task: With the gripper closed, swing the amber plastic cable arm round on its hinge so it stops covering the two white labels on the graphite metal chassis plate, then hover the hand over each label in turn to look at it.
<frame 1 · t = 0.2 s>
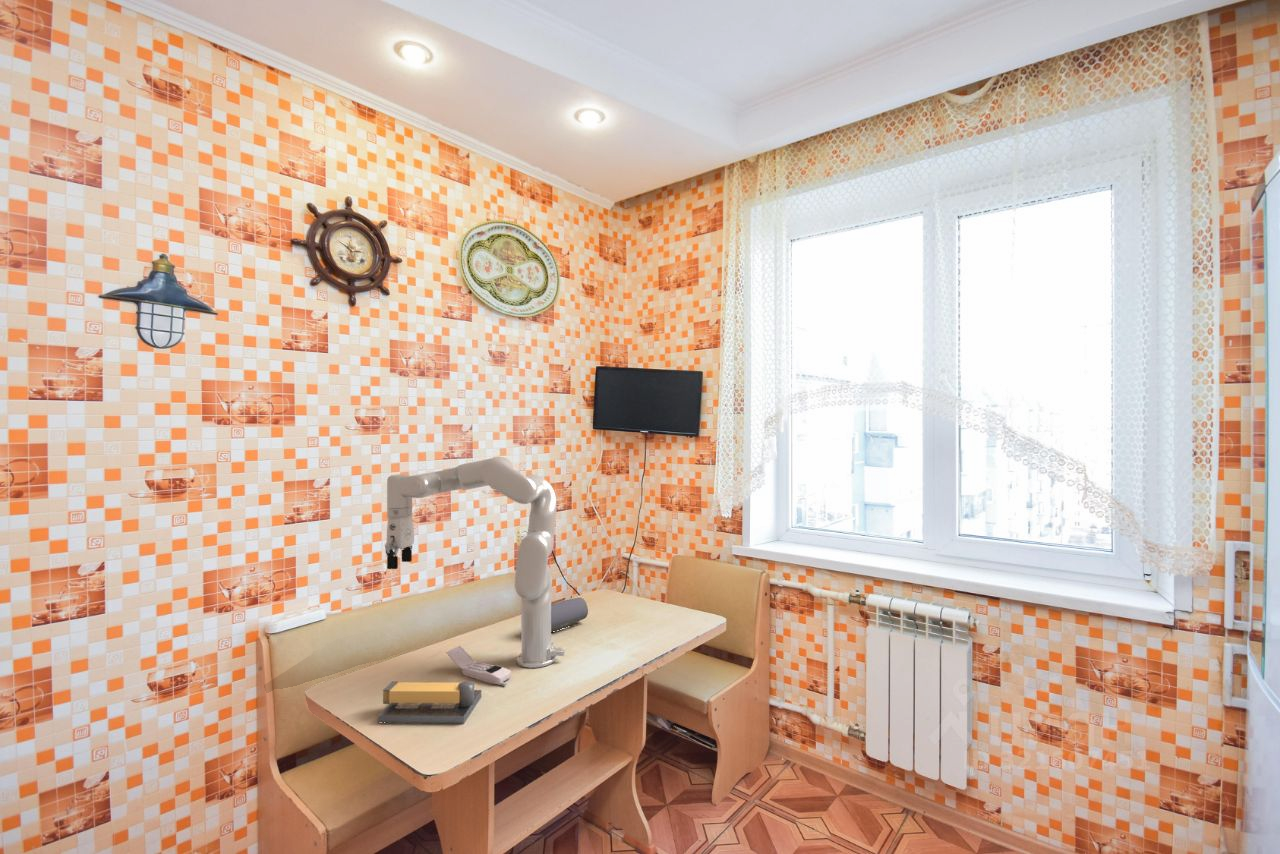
hand: (399, 565, 178), 31 cm above the table, tool pointing down, fingers open, 9 cm apart
mobile phone: (479, 676, 166), on the table
chassis plate: (432, 709, 145), on the table
bluetooth speaker: (558, 630, 204), on the table
cable arm: (430, 693, 144), point 5 cm above the table, hinge at 0.0°
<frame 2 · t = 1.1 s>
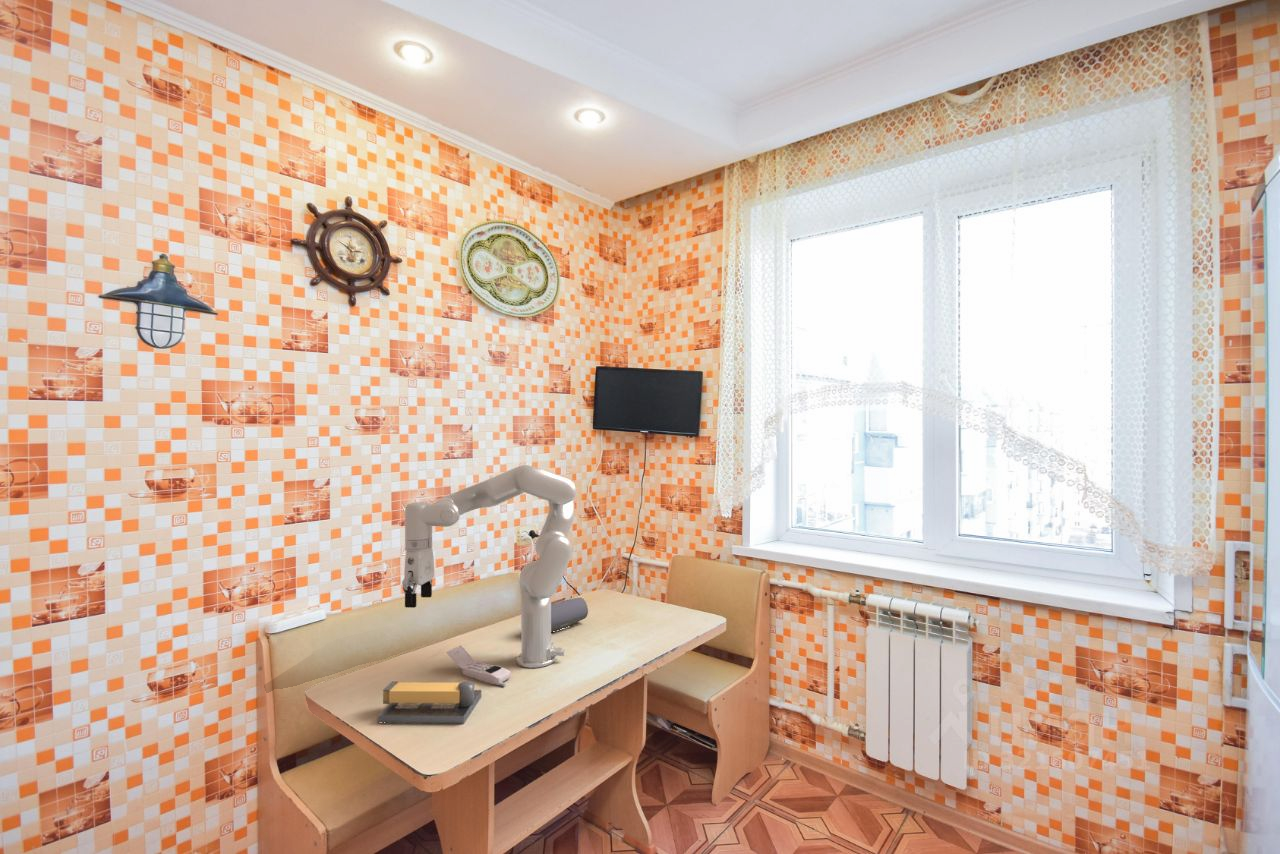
hand: (418, 602, 162), 24 cm above the table, tool pointing down, fingers open, 9 cm apart
nothing on the table moved.
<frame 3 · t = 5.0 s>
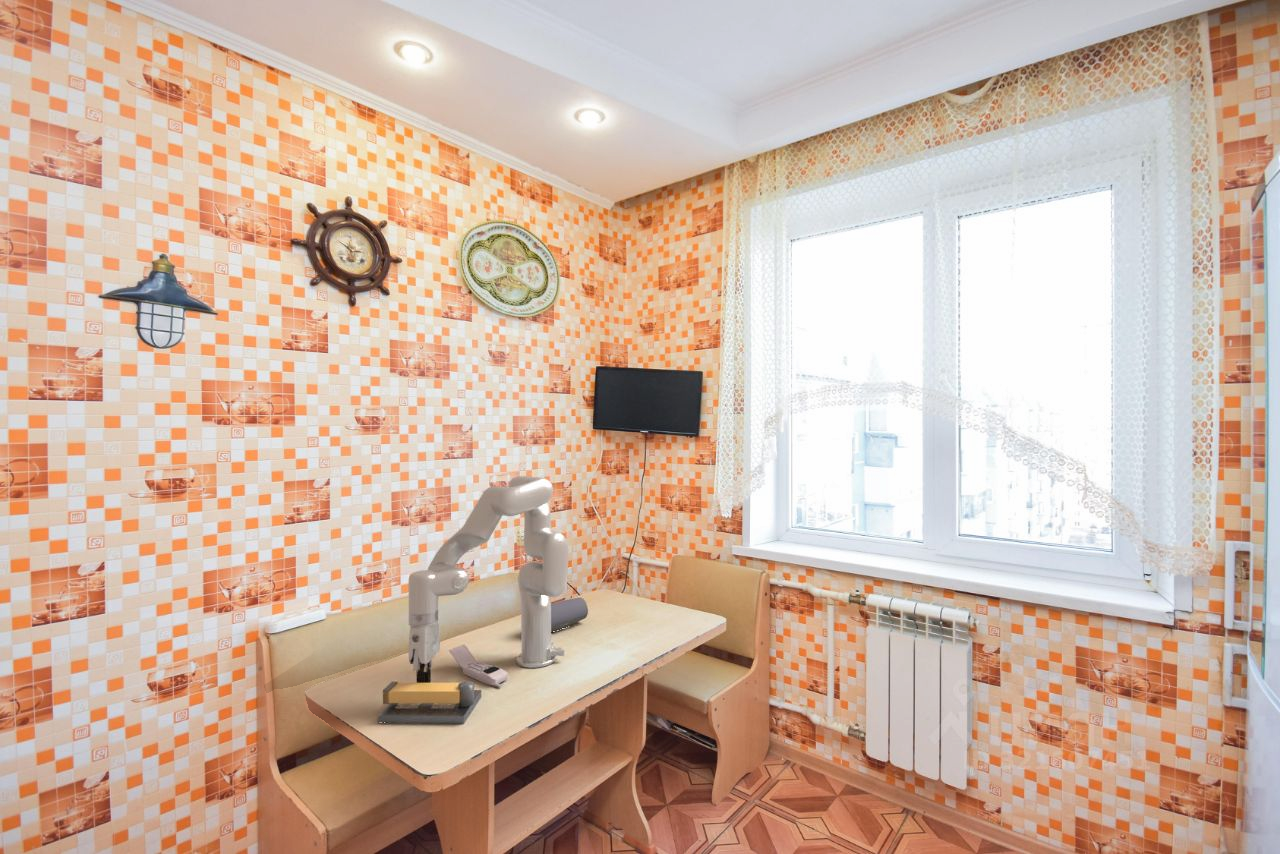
hand: (423, 684, 148), 5 cm above the table, tool pointing down, fingers closed
cable arm: (430, 693, 144), point 5 cm above the table, hinge at 0.4°, touching gripper
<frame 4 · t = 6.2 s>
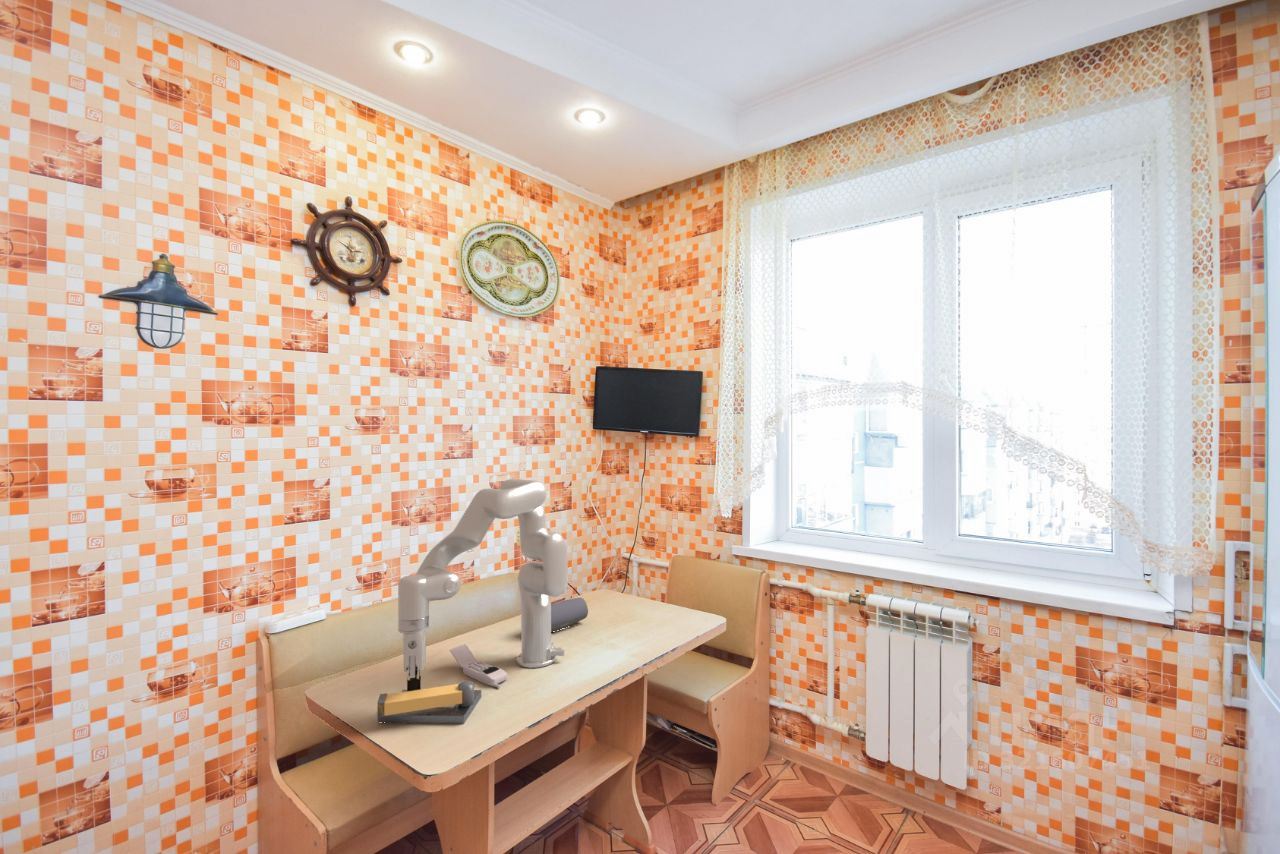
hand: (413, 692, 144), 5 cm above the table, tool pointing down, fingers closed
cable arm: (427, 699, 141), point 5 cm above the table, hinge at 20.1°, touching gripper
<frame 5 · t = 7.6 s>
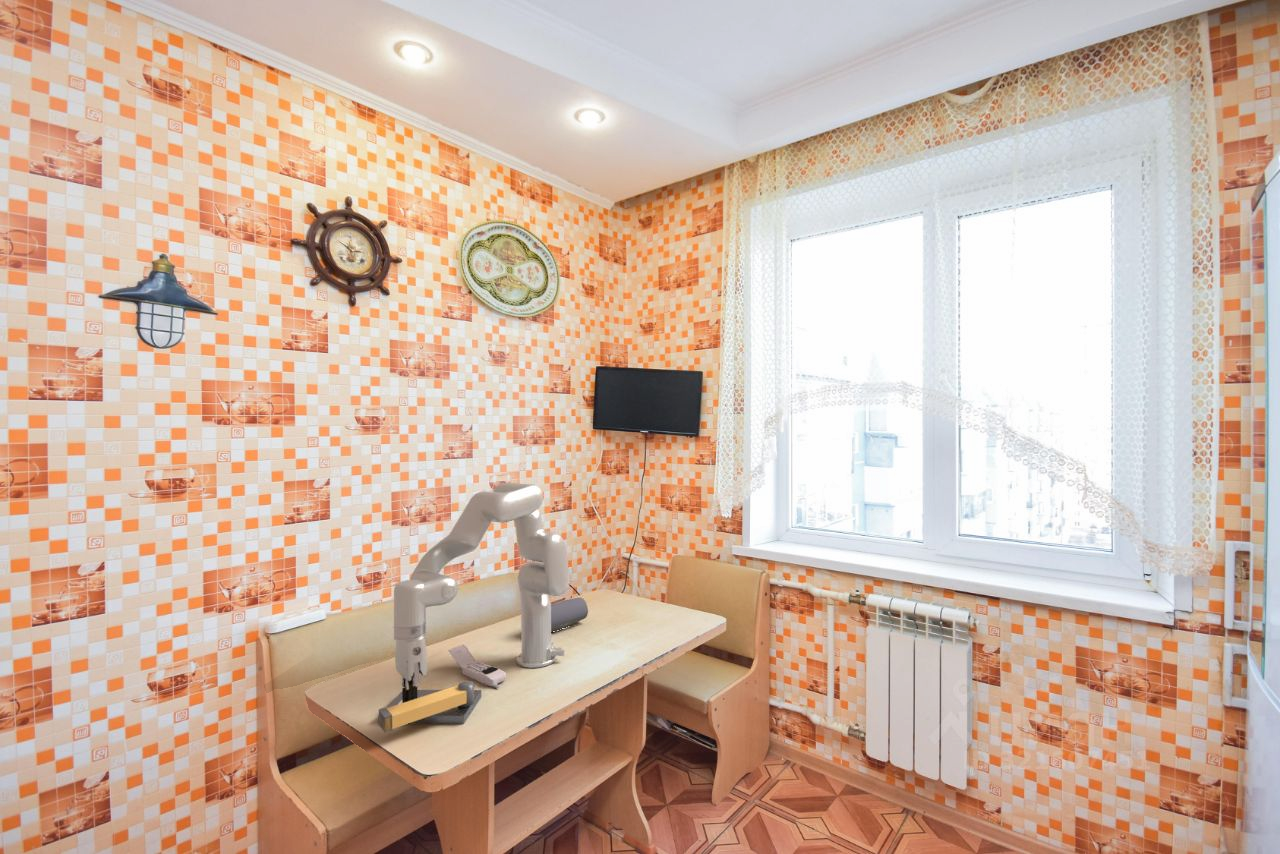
hand: (409, 702, 138), 5 cm above the table, tool pointing down, fingers closed
cable arm: (430, 706, 138), point 5 cm above the table, hinge at 43.3°, touching gripper
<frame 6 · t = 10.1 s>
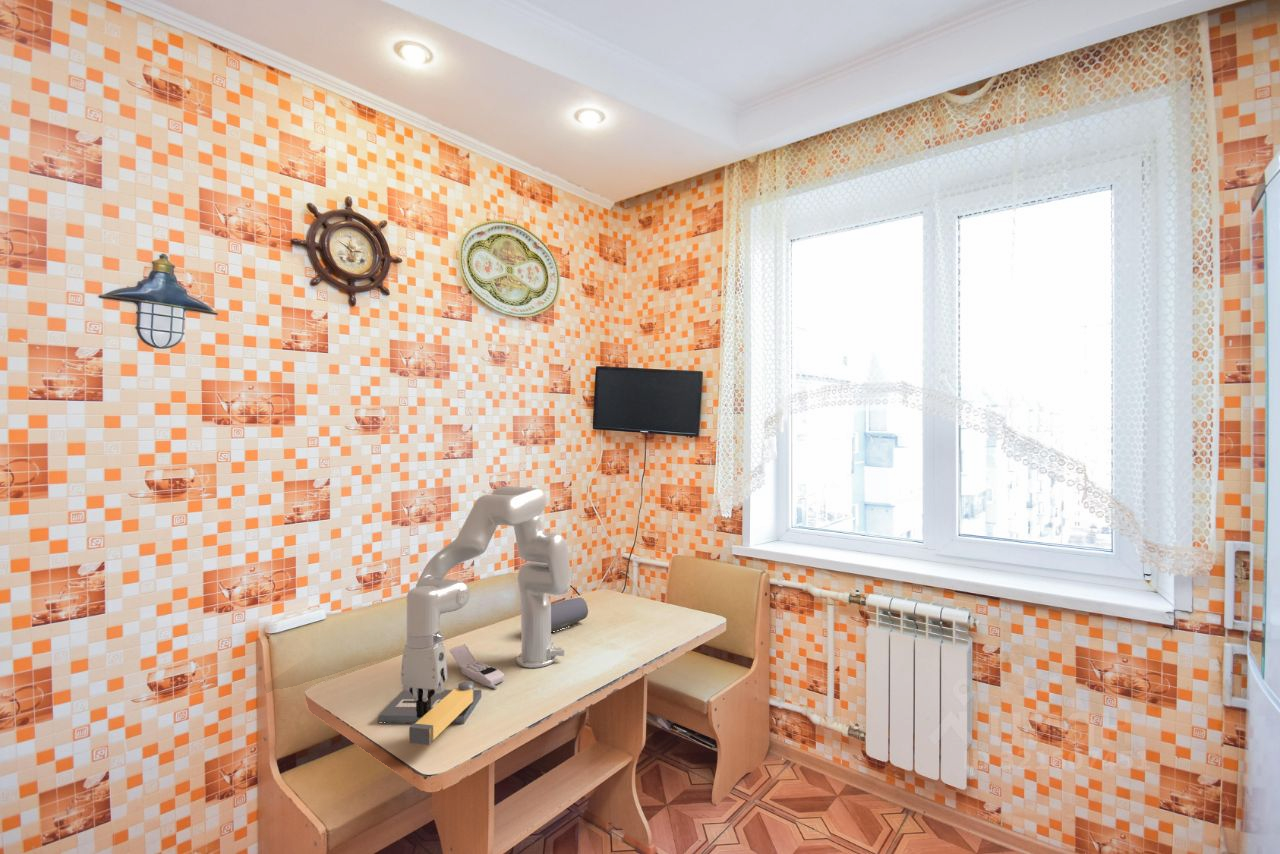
hand: (423, 715, 132), 5 cm above the table, tool pointing down, fingers closed
cable arm: (446, 711, 135), point 5 cm above the table, hinge at 80.5°, touching gripper
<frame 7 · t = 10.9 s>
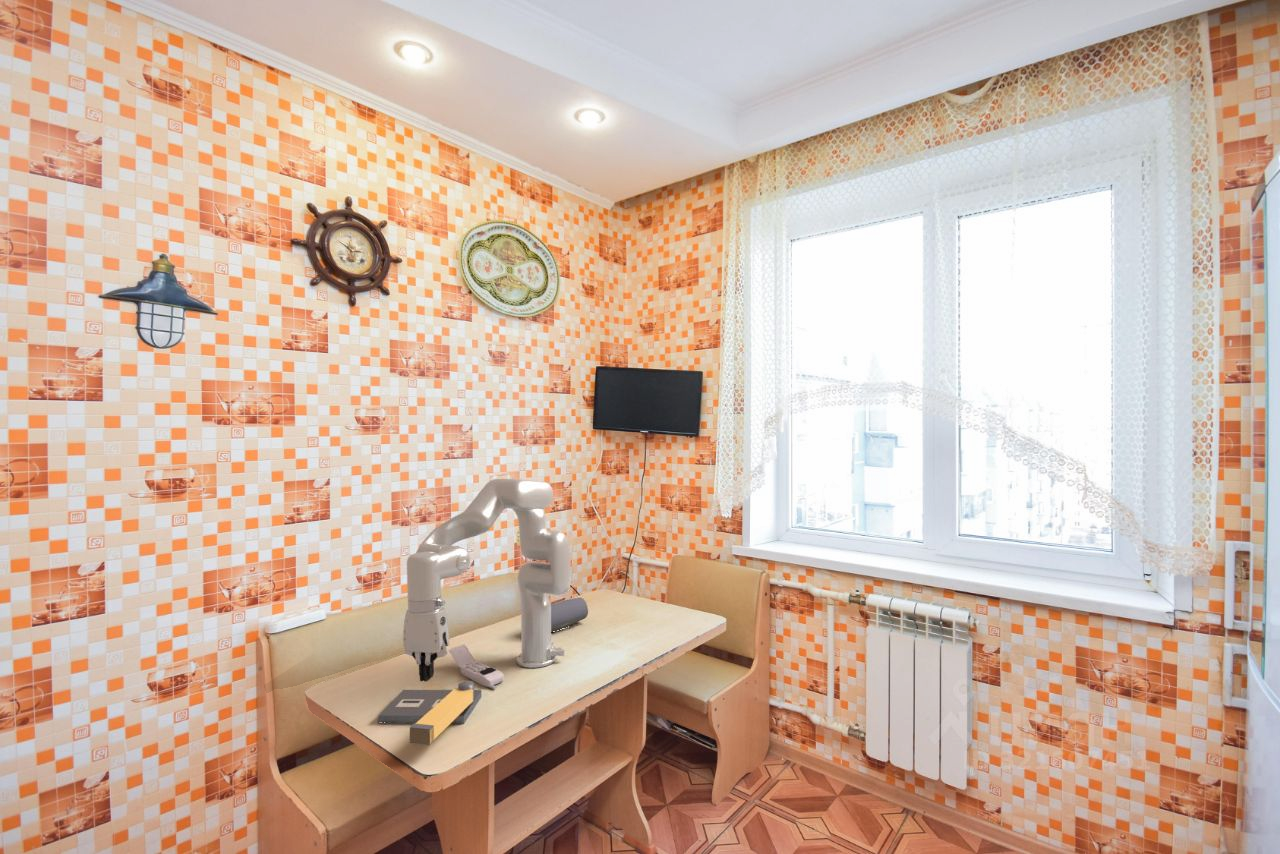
hand: (426, 678, 133), 14 cm above the table, tool pointing down, fingers closed
cable arm: (446, 711, 135), point 5 cm above the table, hinge at 80.9°
everything else where it was.
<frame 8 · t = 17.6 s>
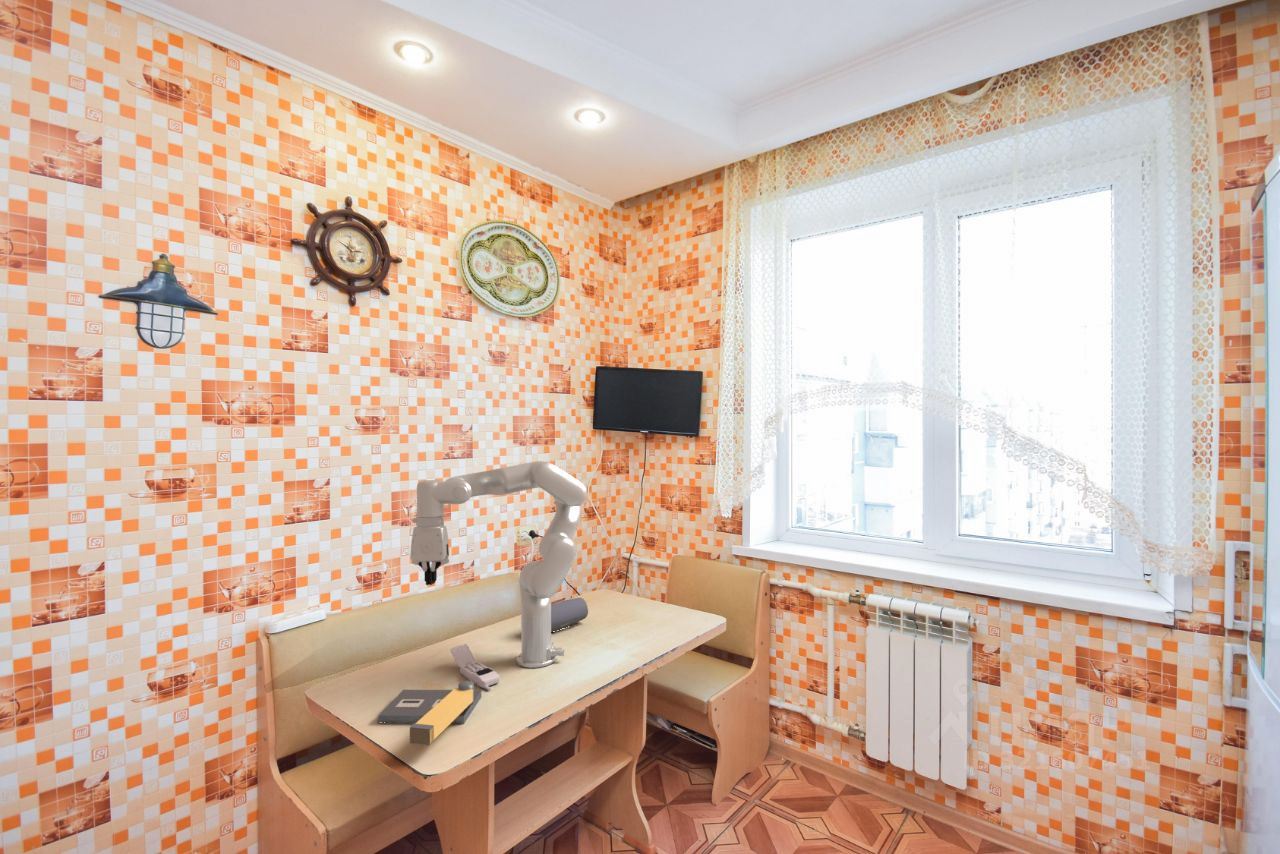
hand: (430, 583, 162), 29 cm above the table, tool pointing down, fingers closed
at the end: cable arm at +81° (first picture: +0°); mobile phone moved 1.4 cm from its start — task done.
